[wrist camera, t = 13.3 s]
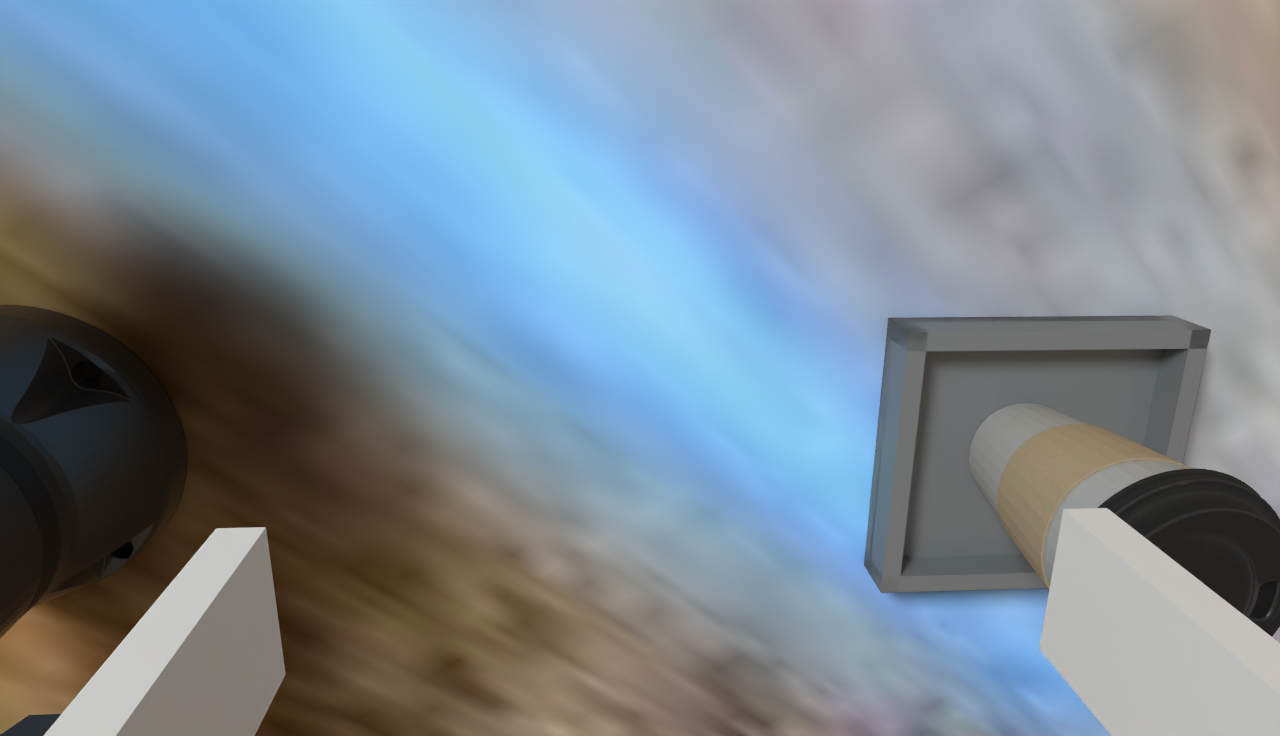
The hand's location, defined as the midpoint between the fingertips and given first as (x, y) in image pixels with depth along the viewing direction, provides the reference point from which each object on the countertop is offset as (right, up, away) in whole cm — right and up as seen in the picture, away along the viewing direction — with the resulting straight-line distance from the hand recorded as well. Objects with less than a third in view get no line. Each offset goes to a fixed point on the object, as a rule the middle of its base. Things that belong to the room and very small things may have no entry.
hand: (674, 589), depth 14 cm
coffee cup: (+20, -1, +34) cm, 40 cm away
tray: (+21, -1, +35) cm, 41 cm away
